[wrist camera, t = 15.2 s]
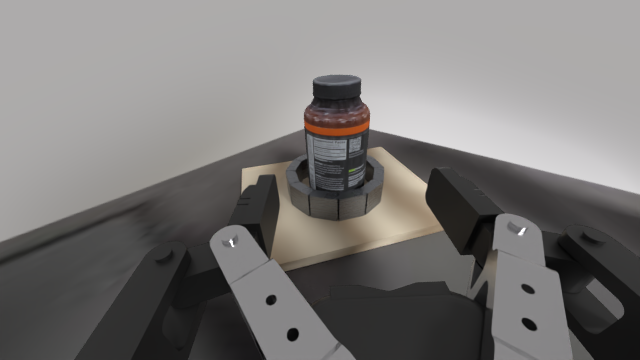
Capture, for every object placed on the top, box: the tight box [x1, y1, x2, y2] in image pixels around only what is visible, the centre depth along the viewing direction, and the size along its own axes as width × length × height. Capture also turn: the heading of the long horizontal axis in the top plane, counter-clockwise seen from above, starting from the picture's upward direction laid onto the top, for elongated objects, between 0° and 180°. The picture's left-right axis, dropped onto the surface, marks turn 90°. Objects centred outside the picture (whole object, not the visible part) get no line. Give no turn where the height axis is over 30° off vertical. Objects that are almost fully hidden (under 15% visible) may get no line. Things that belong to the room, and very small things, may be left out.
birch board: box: [241, 147, 444, 272], centre depth 25 cm, size 20×16×1 cm
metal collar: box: [285, 153, 384, 221], centre depth 24 cm, size 10×10×2 cm
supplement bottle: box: [304, 75, 370, 193], centre depth 22 cm, size 6×6×11 cm
